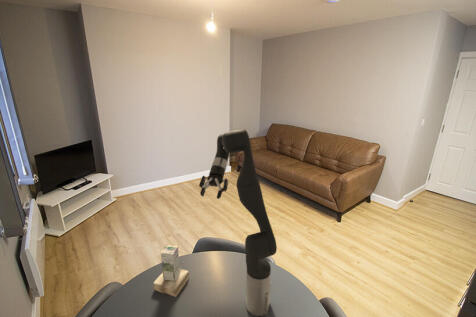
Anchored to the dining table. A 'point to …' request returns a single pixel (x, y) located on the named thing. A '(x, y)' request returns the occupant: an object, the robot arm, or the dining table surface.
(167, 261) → the syrup box
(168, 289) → the birch stand
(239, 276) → the dining table surface
